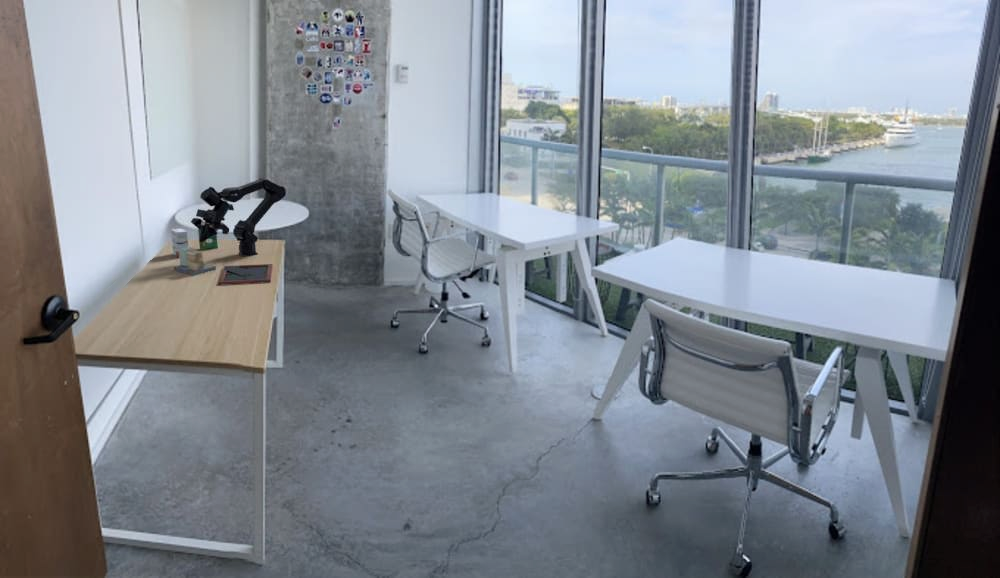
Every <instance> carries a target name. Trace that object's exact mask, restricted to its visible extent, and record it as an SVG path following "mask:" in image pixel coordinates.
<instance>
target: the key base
mask: <svg viewBox="0 0 1000 578" xmlns="http://www.w3.org/2000/svg"><path fill="white" fill-rule="evenodd" d="M203 264H204V268H203V269H199V270H190V269H188V266H183V265H180V264H179V265H176V266H173V267H172V268H173V271H175V272H179V273H180V272H181V273H184V274H187V273H188V275H191V274H192V276H198V275H201V273H202V274H206V273H209V272H212V270H213V271H216V270H217V266H216V265H211V264H208V263H207V264H206V263H203ZM208 271H209V272H208ZM205 272H206V273H205ZM197 274H198V275H197Z"/></svg>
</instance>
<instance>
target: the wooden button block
mask: <svg viewBox="0 0 1000 578" xmlns="http://www.w3.org/2000/svg"><path fill="white" fill-rule="evenodd" d="M186 257H187V266H188V269H190V270H199V269H203V268H204V264H205V263H204V257H203V252H202V251H197V250H195V251H192V252H187V253H186Z"/></svg>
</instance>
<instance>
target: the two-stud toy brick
mask: <svg viewBox="0 0 1000 578" xmlns="http://www.w3.org/2000/svg"><path fill="white" fill-rule="evenodd" d="M192 251H196V250H195V247H185V248H181V249H179V257H178V258H179V265H183V266H187V257H186V253H187V252H192Z"/></svg>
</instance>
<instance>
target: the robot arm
mask: <svg viewBox="0 0 1000 578" xmlns="http://www.w3.org/2000/svg"><path fill="white" fill-rule="evenodd" d="M260 190H263V191H265V195H264V197H263V199H262V200H261V202H260V203H259V204H258V205H257V207H255V209H254V210H253V211H252V212H251V213H250V214H249V216H248V217H247V218H246V219H245V220H242V219H239V221H237V223H236V224H235V225H234V228H233V229H232V231H233V236H234V237H235V239H236V241H238V243H239V245H238V255H240V256H243V257H249V256H254V255H258V254H259V253H258V252H257V251H256V249H257V248H256V243H257V242H258V239H259V238H258V236H257V235H256V234H255V230H256V226H257V224H259V222H260V221H261V220H262V218H263V217H264V216H265V215H266V213H267V212H269V210H270V209H271V208H272V206H273V205H274V204H276V203H278V202H280V201H282V199H283V198H285V197H286V194H287V190H286V188H285V186H283V185H278V184H277V183H274V182H272V181H270V180H269V179H267V178H259V179H257V180H253V181H250V182H249V183H245V184H244V185H241V186H233V187H231V186H230V187H225V188H223V189H221V191H219V192H218V191H217V190H216V189H215V188H214V187H212V186H209V187H208V188H206V189H205V190H203V191H202V192H201V193H200V199H201V200H202V201H204V203H206V204H207V206H209V207H213V208H212V209H210V208H209V209H207V210H205V209H199V208H198V209H197V210H196V214H195V216H196V217H193V218H192V220H190V223H191V224H192V225H193V226H195V227H196V228H197V230H198V229H200V230H201V233H200V238H199V237H198V243H199V242H201V243H202V242H203V241H205V240H207V239H208V238H210V237H212V236H214V235H216V234H217V235H218V234H219V232H218V231H221V233H222V234H223V235H228V234H229V232H230V228H229V227H228V226H227V225H226V224H225V223H224V221H225V220H226V217H225V216H226V215H227V213H228V212H229V211H234V210H235V209H234V204H232V203H237V202H239V201H241V200H242V199H243V198H244V197H245V196H246V195H249V194H252V193H255V192H258V191H260ZM204 221H205V222H204ZM222 221H223V222H222Z"/></svg>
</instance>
